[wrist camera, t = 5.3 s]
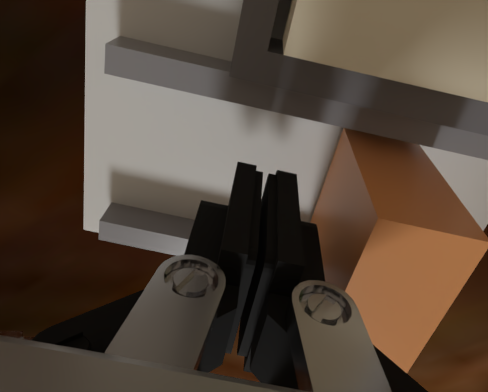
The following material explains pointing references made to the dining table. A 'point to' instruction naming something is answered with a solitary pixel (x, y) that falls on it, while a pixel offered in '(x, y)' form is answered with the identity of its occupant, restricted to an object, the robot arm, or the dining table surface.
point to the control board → (237, 116)
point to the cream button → (396, 40)
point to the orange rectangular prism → (394, 240)
